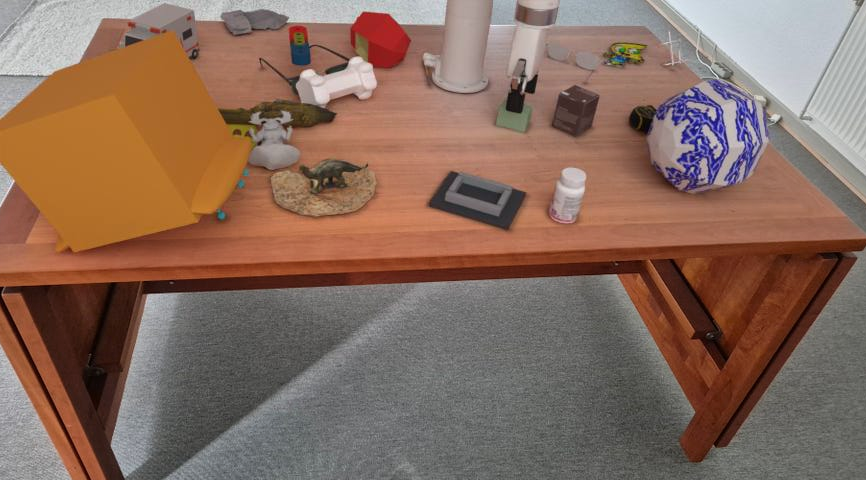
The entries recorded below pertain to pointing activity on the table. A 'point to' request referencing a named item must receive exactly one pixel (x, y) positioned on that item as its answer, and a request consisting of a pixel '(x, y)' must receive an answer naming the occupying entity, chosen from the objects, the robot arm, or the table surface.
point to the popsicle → (242, 131)
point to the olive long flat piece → (270, 110)
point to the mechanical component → (299, 46)
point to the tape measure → (642, 118)
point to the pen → (427, 74)
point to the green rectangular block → (514, 117)
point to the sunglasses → (294, 80)
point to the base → (478, 199)
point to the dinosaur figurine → (324, 188)
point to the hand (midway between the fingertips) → (520, 101)
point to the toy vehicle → (165, 27)
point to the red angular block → (379, 39)
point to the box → (575, 110)
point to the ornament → (708, 137)
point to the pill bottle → (568, 195)
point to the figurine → (272, 143)
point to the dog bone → (337, 83)
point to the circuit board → (280, 100)
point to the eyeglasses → (581, 57)
